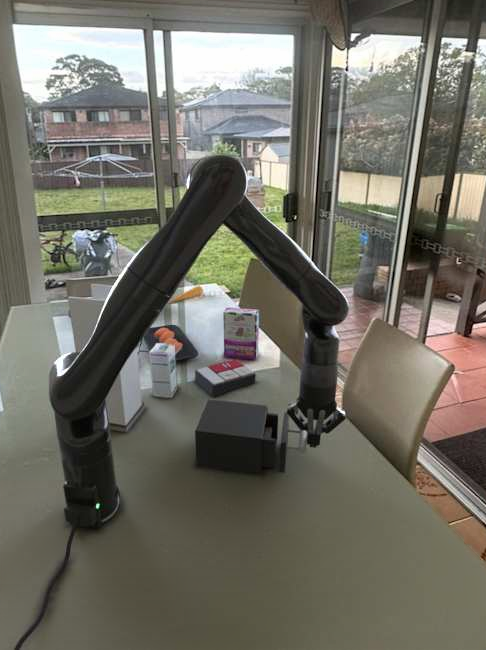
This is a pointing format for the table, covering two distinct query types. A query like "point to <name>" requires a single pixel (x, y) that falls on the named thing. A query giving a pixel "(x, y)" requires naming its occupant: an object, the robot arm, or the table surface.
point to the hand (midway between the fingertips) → (313, 445)
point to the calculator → (224, 377)
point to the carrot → (189, 294)
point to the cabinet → (231, 436)
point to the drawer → (271, 443)
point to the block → (267, 432)
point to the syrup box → (163, 370)
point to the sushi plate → (170, 341)
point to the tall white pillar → (126, 388)
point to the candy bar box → (241, 333)
